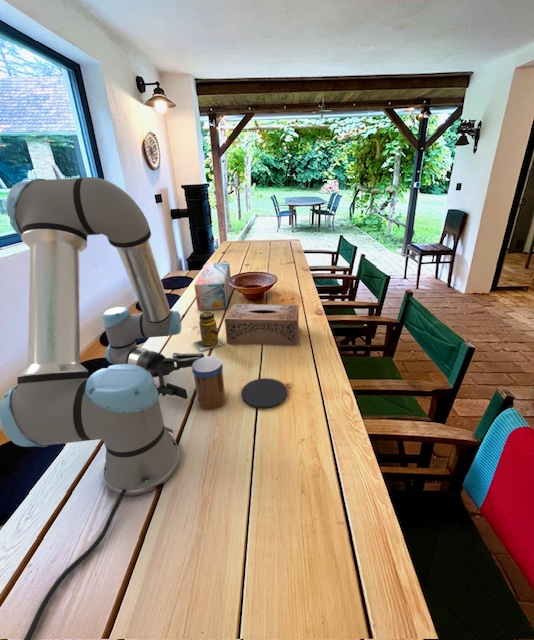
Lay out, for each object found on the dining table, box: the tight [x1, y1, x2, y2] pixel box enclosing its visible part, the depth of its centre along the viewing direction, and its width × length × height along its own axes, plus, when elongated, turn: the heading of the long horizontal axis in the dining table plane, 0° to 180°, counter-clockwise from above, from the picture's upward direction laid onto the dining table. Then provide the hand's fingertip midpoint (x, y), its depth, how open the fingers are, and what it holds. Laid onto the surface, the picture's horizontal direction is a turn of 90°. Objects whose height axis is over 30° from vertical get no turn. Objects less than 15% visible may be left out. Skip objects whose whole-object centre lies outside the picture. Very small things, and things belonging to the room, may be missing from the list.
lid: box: [191, 355, 224, 378], centre depth 85 cm, size 8×8×2 cm
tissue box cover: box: [224, 303, 300, 347], centre depth 122 cm, size 26×14×10 cm, turn 82°
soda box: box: [194, 261, 232, 311], centre depth 164 cm, size 41×14×13 cm, turn 3°
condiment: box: [193, 311, 223, 352], centre depth 117 cm, size 7×8×12 cm
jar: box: [193, 370, 227, 411], centre depth 87 cm, size 8×8×12 cm
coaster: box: [240, 378, 288, 410], centre depth 91 cm, size 13×13×1 cm
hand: (202, 380), depth 88 cm, fingers open, 13 cm apart
